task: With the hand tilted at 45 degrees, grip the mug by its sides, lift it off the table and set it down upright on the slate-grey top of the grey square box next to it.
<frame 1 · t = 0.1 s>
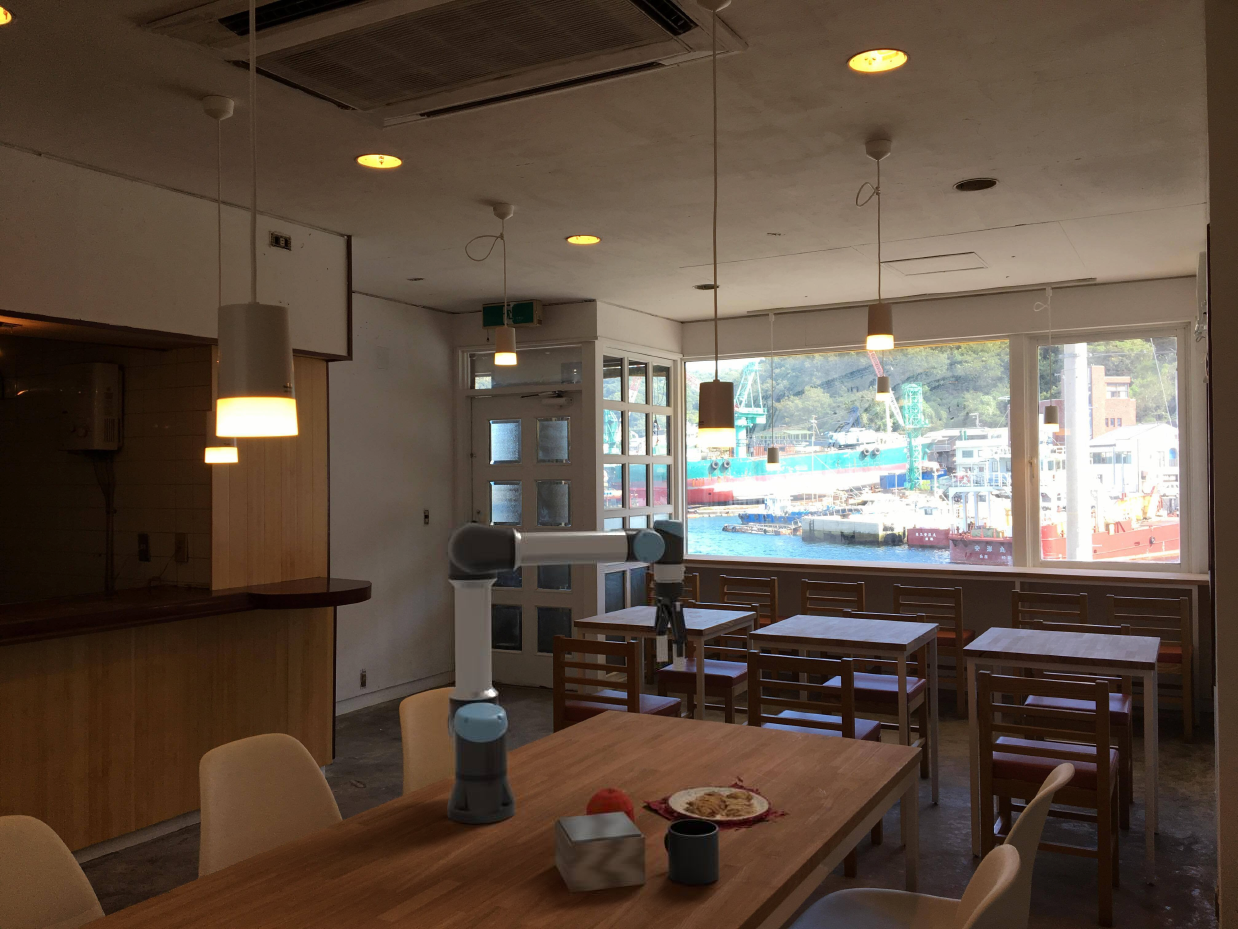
hand: (670, 665, 248), 28 cm above the table, tool pointing down, fingers open, 13 cm apart
apple: (610, 844, 202), on the table
mug: (688, 875, 185), on the table
grey square box: (599, 874, 186), on the table
plate with food: (721, 814, 222), on the table
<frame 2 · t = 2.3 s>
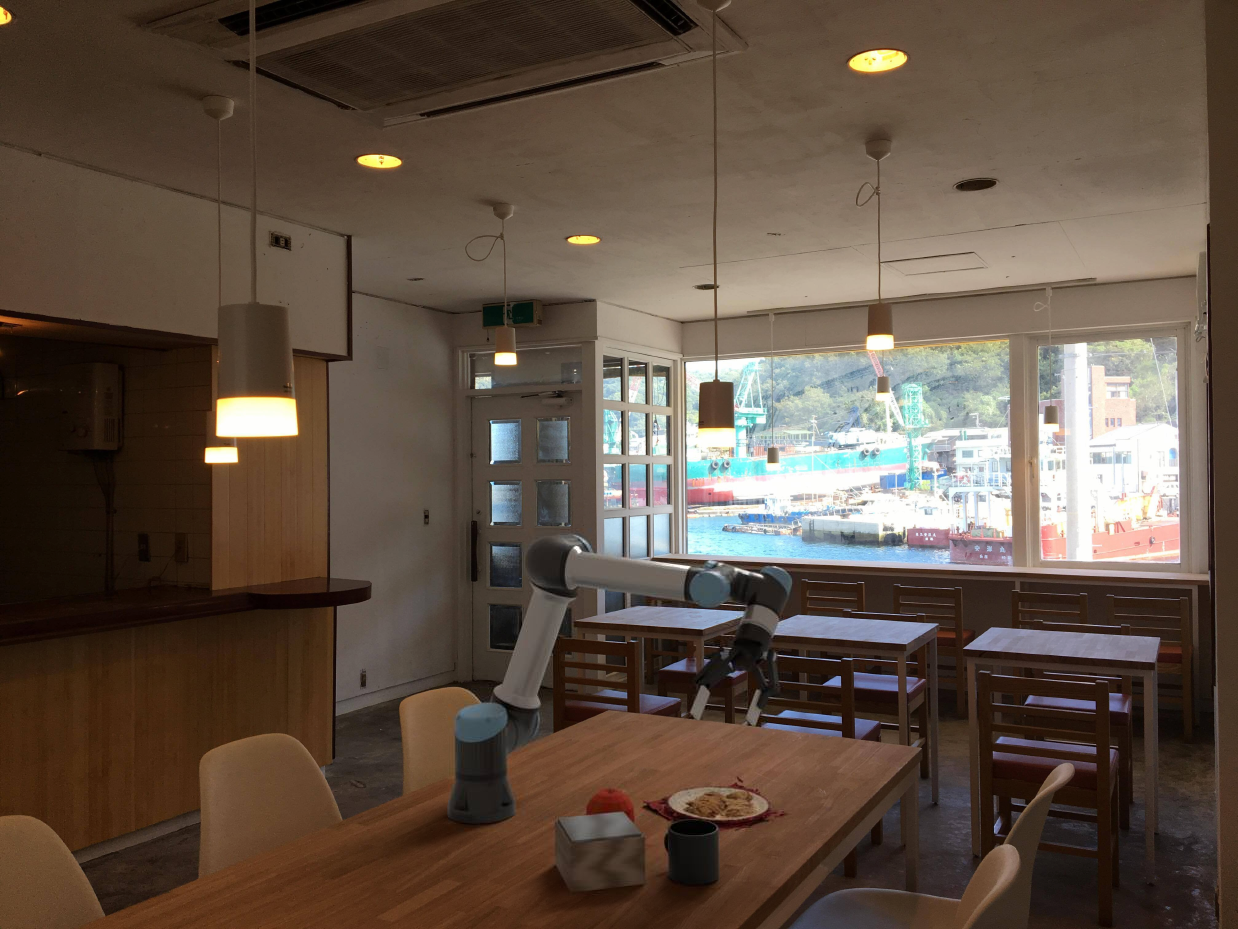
hand: (721, 719, 198), 26 cm above the table, tool tilted 40°, fingers open, 13 cm apart
nothing on the table moved.
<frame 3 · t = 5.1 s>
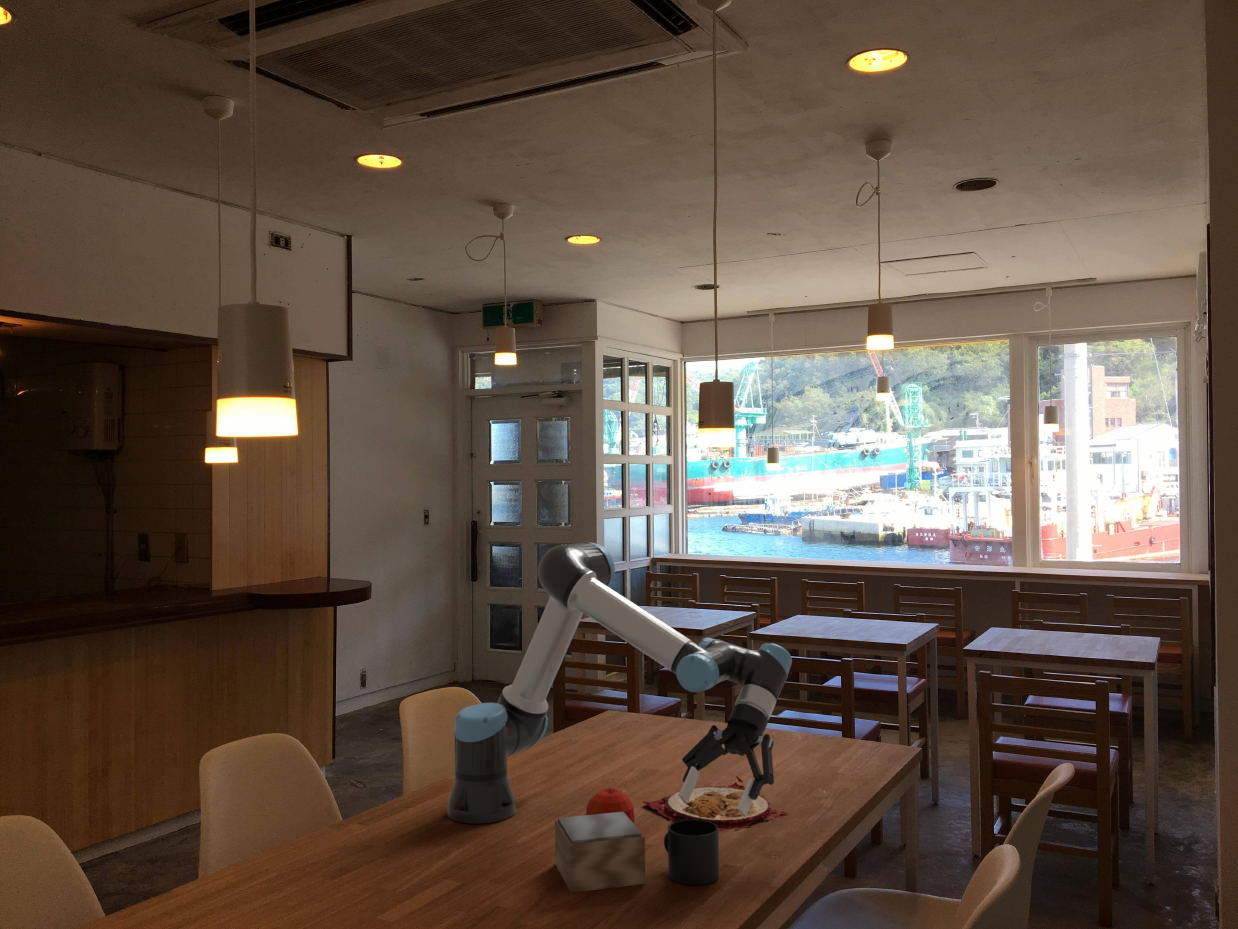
hand: (711, 806, 190), 11 cm above the table, tool tilted 45°, fingers open, 13 cm apart
nothing on the table moved.
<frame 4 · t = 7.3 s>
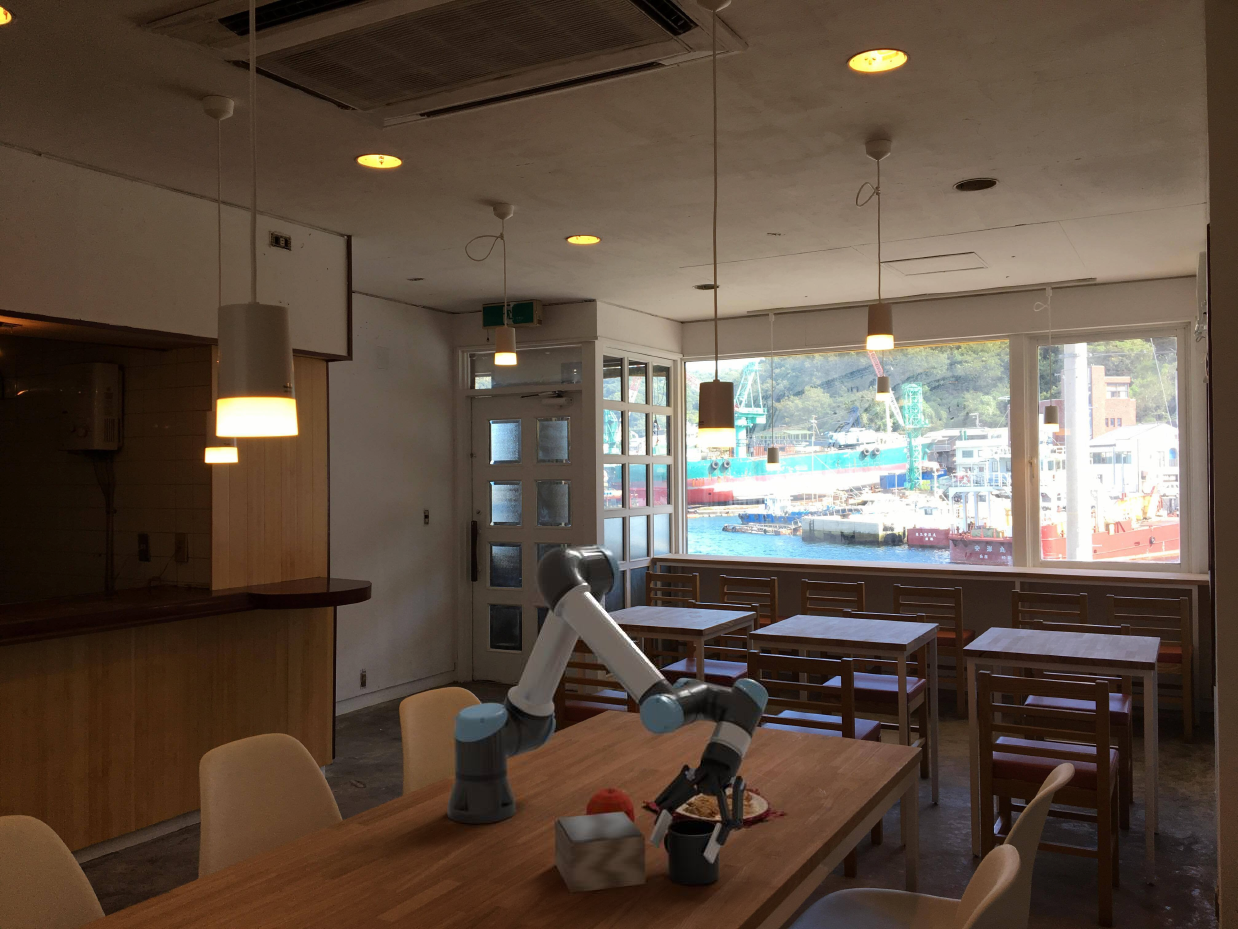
hand: (680, 851, 183), 5 cm above the table, tool tilted 45°, fingers closed on mug, 12 cm apart
mug: (688, 875, 185), on the table, touching gripper
everything else where it was.
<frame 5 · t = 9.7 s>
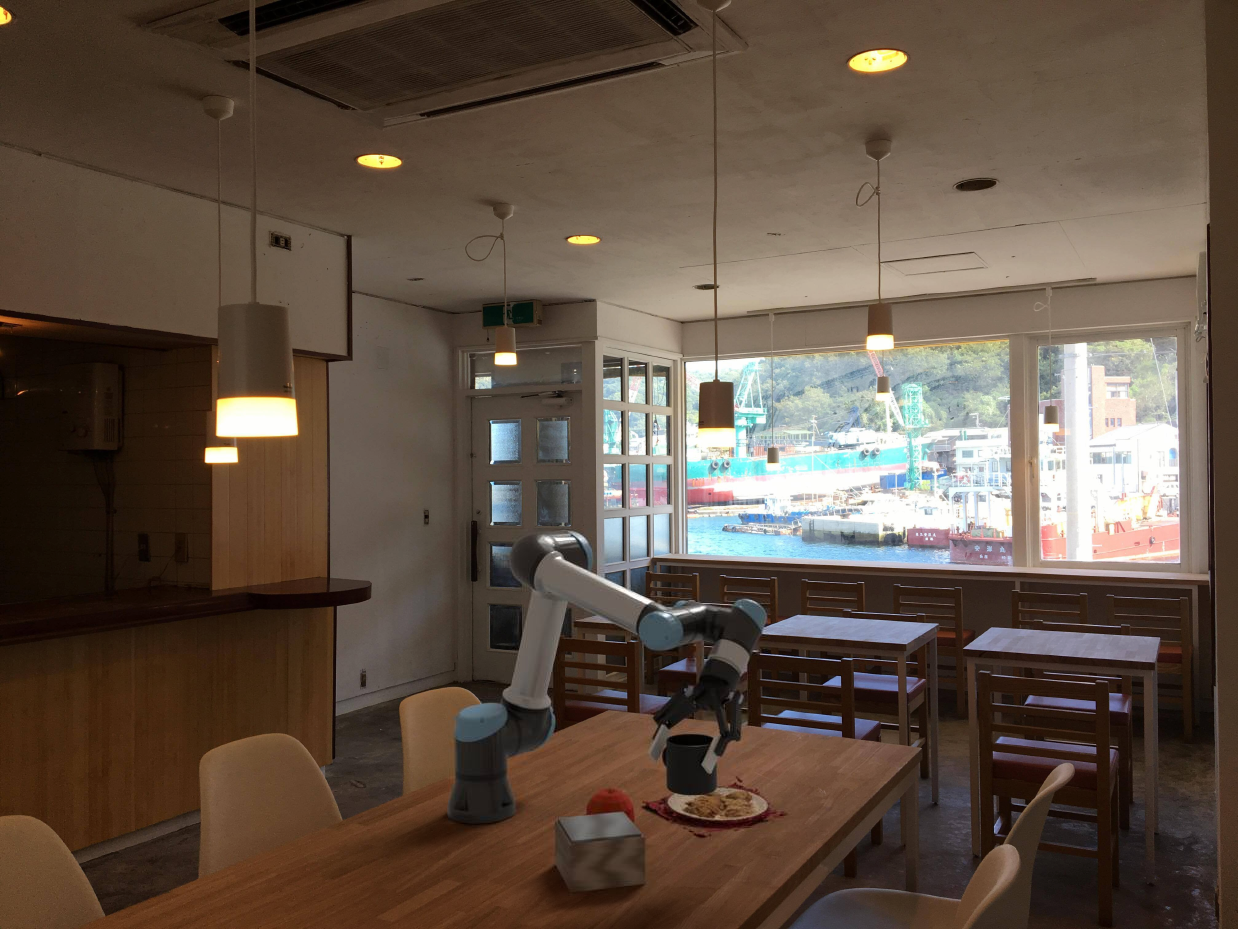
hand: (678, 763, 184), 21 cm above the table, tool tilted 45°, fingers closed on mug, 12 cm apart
mug: (686, 788, 186), point 16 cm above the table, touching gripper
everything else where it was.
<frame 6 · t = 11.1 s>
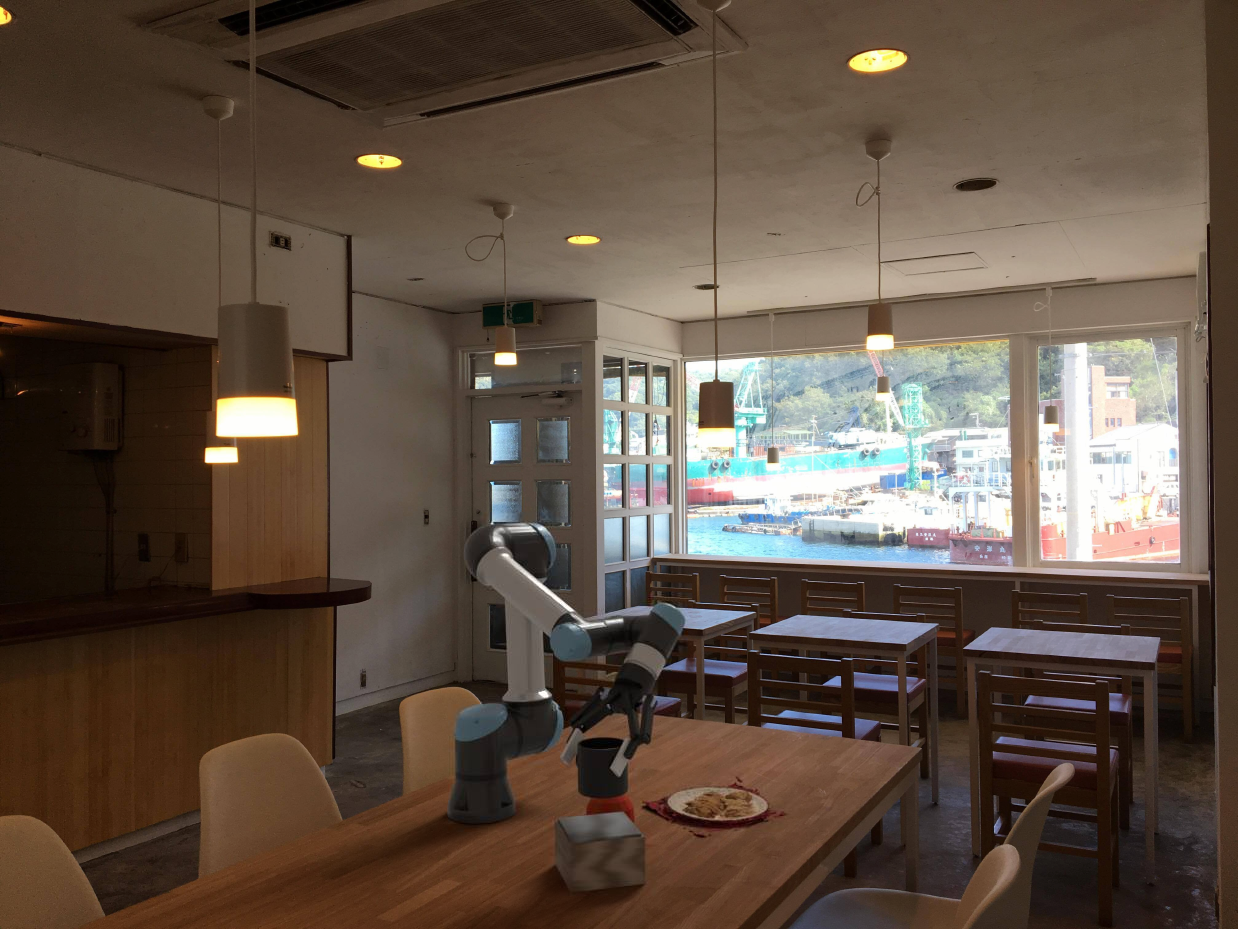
hand: (589, 767, 185), 21 cm above the table, tool tilted 45°, fingers closed on mug, 12 cm apart
mug: (598, 791, 186), point 15 cm above the table, touching gripper
everything else where it was.
when the fingers open (15 cm above the table, at t = 12.6 s): mug drops 1 cm, resting on grey square box.
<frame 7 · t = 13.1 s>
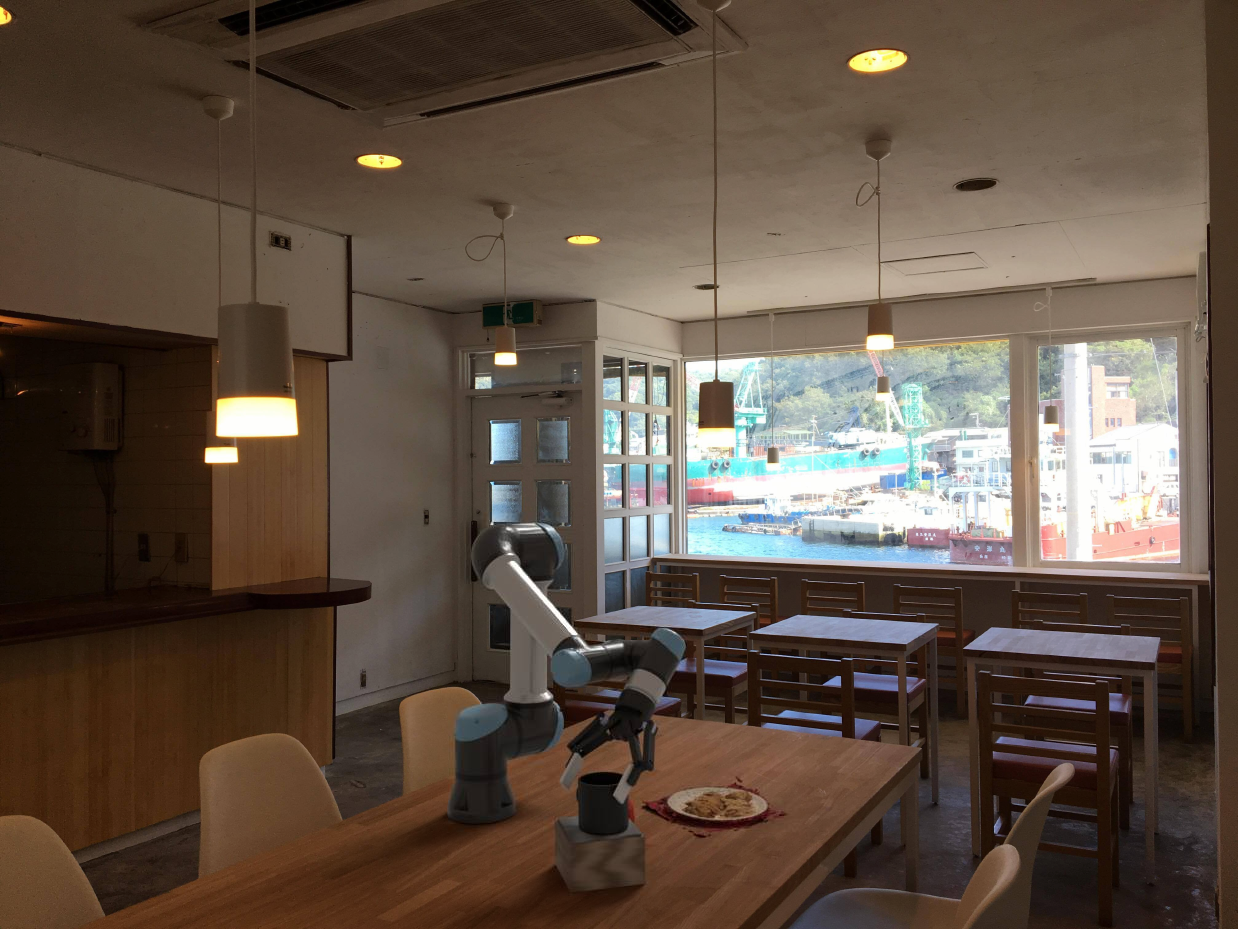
hand: (590, 793, 185), 16 cm above the table, tool tilted 45°, fingers open, 13 cm apart
mug: (598, 826, 186), point 9 cm above the table, touching grey square box
everything else where it was.
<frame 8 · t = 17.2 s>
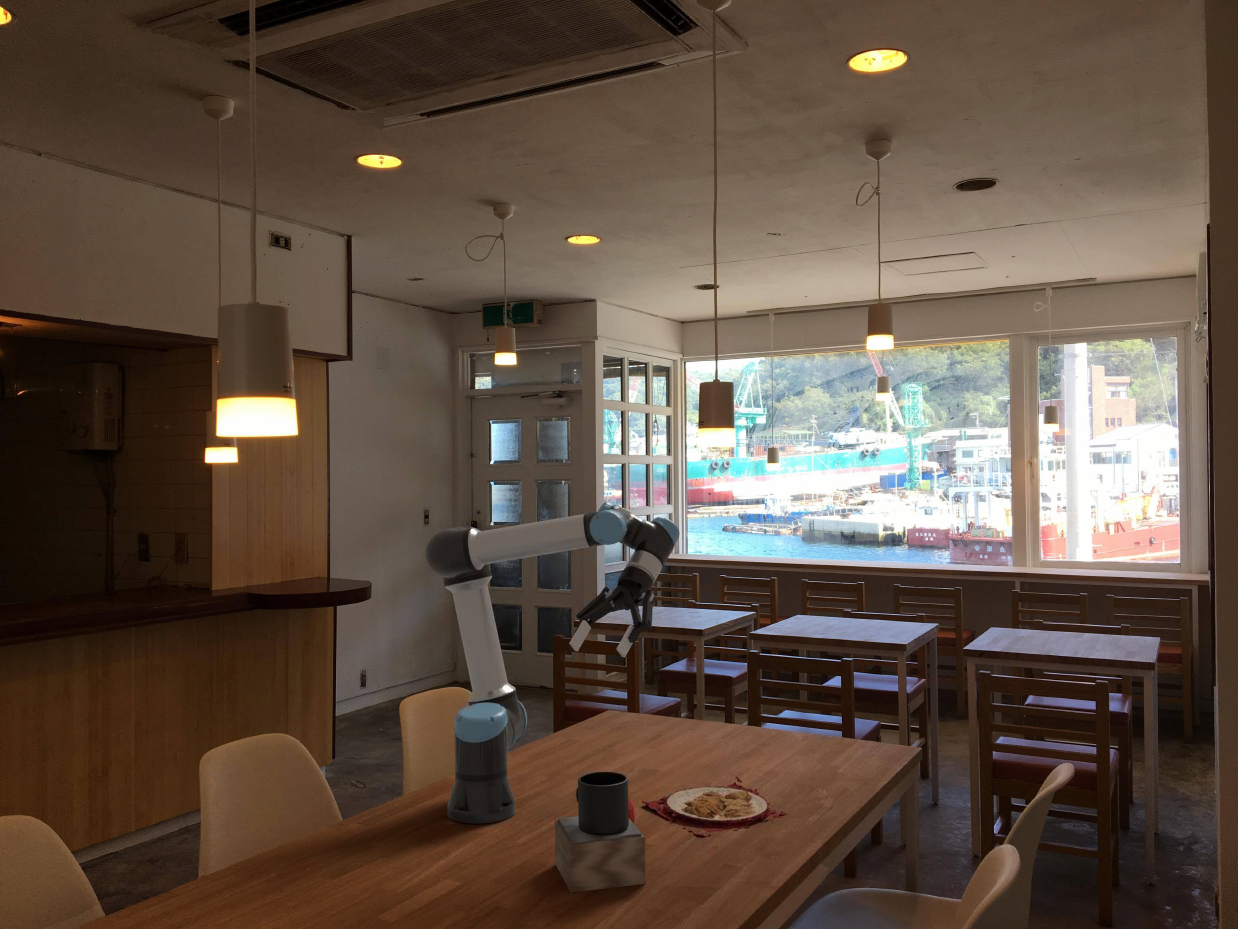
hand: (596, 650, 213), 38 cm above the table, tool tilted 45°, fingers open, 13 cm apart
nothing on the table moved.
at the end: mug inside the target area on the grey square box (0.1 cm from its centre), point 8.8 cm above the grey square box's base; mug tilted 0°; the gripper is holding nothing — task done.
